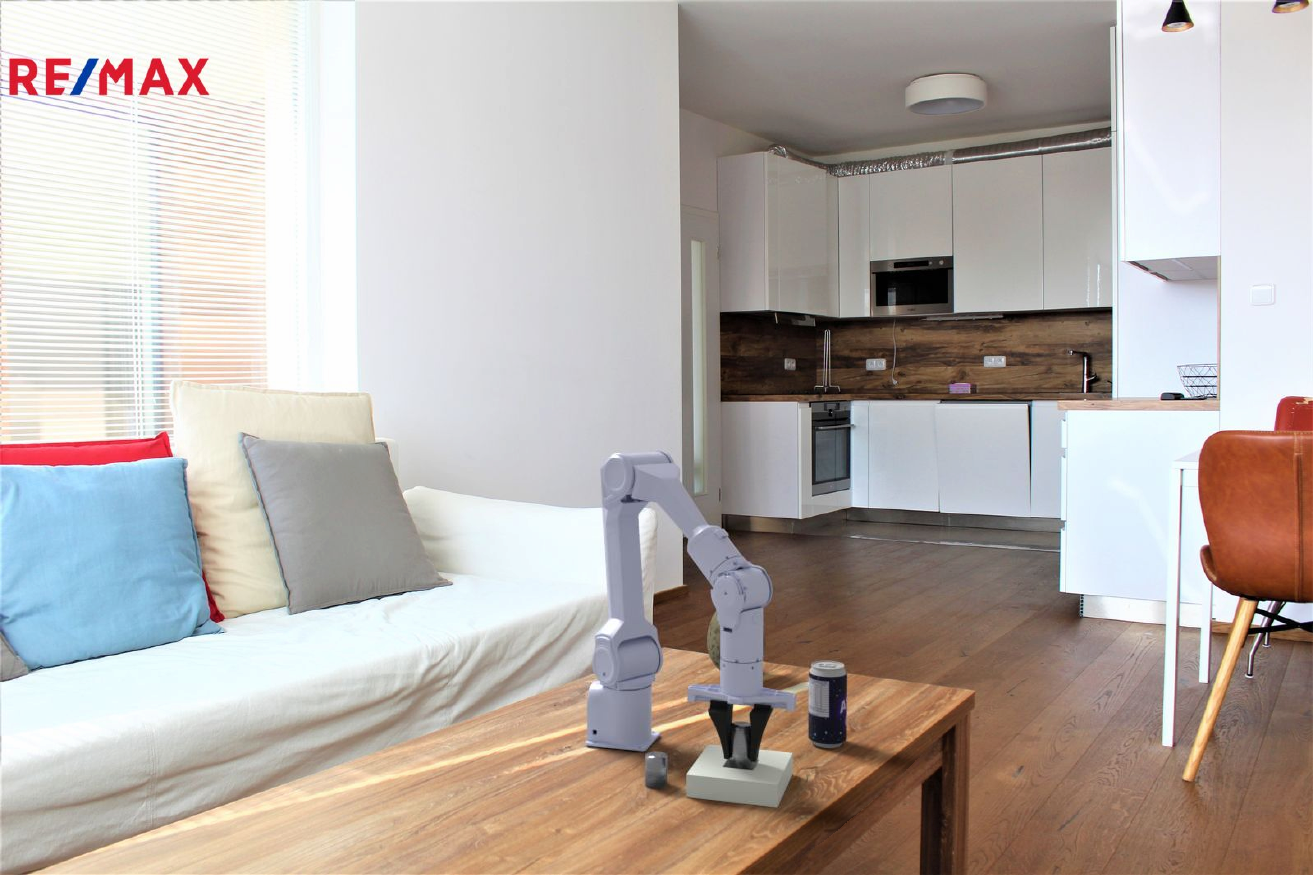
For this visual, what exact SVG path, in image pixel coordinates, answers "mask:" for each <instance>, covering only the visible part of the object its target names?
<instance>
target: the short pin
mask: <svg viewBox="0 0 1313 875" xmlns="http://www.w3.org/2000/svg"><path fill="white" fill-rule="evenodd" d="M644 757H645V758H644V759H645V760H644V761H645V762H644V764H645V765H644V768H645V769H644V777H645V778H644V780H645V781H644V785H645V788H649V789H652V790H661V789H665V788H666V787H667V786H668V754H667V753H665V752H663V751H649V752H647V753H646V754H644Z"/></svg>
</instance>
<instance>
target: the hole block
mask: <svg viewBox="0 0 1313 875" xmlns="http://www.w3.org/2000/svg"><path fill="white" fill-rule="evenodd" d="M793 764H794V757H793V752H788V751H787V752H786V751H778V750H770V749H760V748H759V755H758V759H757V761H756V762H752V770H745V769H735V768H730V758H729V759H724V755H723V750H722V745H721V744H719V745H717V744H707V745H706V747H705V748H704V749H703V751H702V753H700V755H699V756H698V758H697V759H696V761H695V762H693V764H692V766H691V767H690V769H689V770H688V771H687V773H686V777H685V778H686V780H685V781H686V783H685V786H686V787H685V789H686V791H685V793H686V794H685V795H686V798H693V799H701V800H710V801H711V800H712V801H718V802H726V803H727V802H728V803H734V804H742V805H744V804H745V805H754V806H761V807H768V808H769V807H770V808H779V804H780V803H781V800H782V798H783V796H784V794H785V791H786V789H787V787H788V785H789V783H790V781H791V778H792V776H793V774H794V773H793V770H794V769H793V768H794V767H793Z"/></svg>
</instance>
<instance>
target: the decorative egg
mask: <svg viewBox="0 0 1313 875" xmlns="http://www.w3.org/2000/svg"><path fill="white" fill-rule="evenodd" d="M706 636H707V637H706V638H707V639H706V646H707V650H708V656H709V658H710V660H711V662H712V663H713V665H714V666H715V667H716V668H717V670H719V671H720V625H719V621H717V610H715V612H714V613H713V615H712V618H711V620H710V623H709V626H708V631H707V635H706ZM765 651H766V635H765V629H764V628H763V656H764V655H765Z"/></svg>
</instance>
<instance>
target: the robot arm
mask: <svg viewBox="0 0 1313 875" xmlns="http://www.w3.org/2000/svg"><path fill="white" fill-rule="evenodd" d="M599 472H600V488H601V489H600V490H601V492H600V493H601V509H602V523H603V524H602V526H603V527H602V528H603V542H604V543H603V544H604V559H605V576H606V591H607V593H606V594H607V609H608V611H607V612H608V620H607V621H606V622H605V624H603V625H602V627H601V628H600V629H599V630H598V631H597V632H596V634H595V635H594V650H593V653H592V658H591V659H592V660H591V664H592V665H591V666H592V671H593V673H594V676H595V678H596V679H597V680H595V681H593V682H592V683H591V684H590V686H589V690H588V693H587V697H586V698H587V700H586V741H585V742H584V743H585V744H584V745H585V746H590V747H599V748H608V749H614V750H615V749H616V750H617V749H618V750H627V751H634V752H636V751H637V752H646V751H647V750H648V749H649V748H650V747H651V746H652V745H653V743H654V742H655V741H657V739H658V738H659V737H660V735H661V733H660V731H655V730H654V731H653V730H652V722H653V721H652V710H653V708H652V707H653V706H652V705H653V704H652V703H653V702H652V700H653V699H652V698H653V696H652V691H653V690H652V689H653V688H652V684H653V683H654V682H656V675H657V674H659V673H660V671H661V669H662V667H663V665H664V664H663V663H664V654H663V653H664V652H663V650H662V647H661V644H660V641H659V636H658V634H659V633H658V628H657V627H656V626H655V625H654V624H652V622H650V621H649V620H647V619H646V617H645V603H644V600H645V599H644V587H643V569H642V568H643V567H642V556H641V555H642V553H641V538H640V537H641V536H640V534H641V533H640V520H639V515H640V514H641V513H642V511H643V510H644V509H645V508H646V506H647V505H648V504H649V503H656V504H658V506H659V507H660V508H661V509H662V510H663V512H664V513H665V515H667V516H668V517H669V519H671V521H672V522H673V524H675V525H676V527H677V528H678V529H679V530H680V532H682V534H683V535H684V536H685V538H687V539H688V540H687V545H686V551H687V554H688V555H689V556H690V557H691V559H692V560H693V562H694V563H695V564H696V566H697V567H698V569H699V570H700V571H701V572H702V574H703V575H704V577H705V578H706V580H707V581H708V582H709V584H710V585H711V587H712V589H710V596H711V600H712V604H713V606H714V607H715V609H716V610H717V621H719V625H720V670H719V672H720V673H719V682H720V683H718V684H694V683H692V684H691V683H690V685H689V686H688V687H687V695H686V696H687V698H686V699H687V700H686V702H688V703H696V702H702V703H709V707H708V709H707V711H708V716H709V717H710V719H711V721H712V723H713V726H714V727H715V730H716V732H717V735H718V738H719V743H720V745H721V746H722V750H723V755H724V759H729V758H730V724H731V723H733V712H734V706H736V705H737V706H747V707H753V708H752V709H751V711H750V712H749V723H750V727H751V748H750V762H756V761H757V759H758V755H759V749H760V748H761V743H762V739H763V737H764V733H765V730H766V727H767V725H768V722H769V720H770V717H771V716H772V713H773V712H774V709H780V710H785V711H787V712H795V710H796V708H797V693H796V692H789V691H782V690H779V689H772V688H768V687H764V655H763V629H764V608H765V607H767V606H768V604H769V603H771V600H772V597H773V592H774V591H773V590H774V589H773V583H772V579H771V577H770V576H769V575H768V573H767V570H766V569H765V568H764V567H762V566H760V565H756V564H753V563H752V562H751V561H748V560H747V559H746V557H744V556H743V555H742V553H741V552H740V551H739V549H738V548H737V547H736V546H735V545H734V543H733V542H732V541H731V539H730V538H729V533H728V532H727V531H726V530H725V528H722V527H721V526H719V525H710V524H708V522H707V520H706V519H705V517H704V516H703V514H702V512H701V511H700V510H699V508H698V506H697V505H696V504H695V502H694V500H693V499H692V497H691V495H690V494H689V493H688V491H687V489H686V488H685V486H684V484H683V483H682V481H681V480H680V478H681V469H680V467H679V466H678V465H677V463H675V460H674V459H673V457H672V456H671V454H669V453H667V451H663V450H657V451H654V452H653V451H651V452H631V453H623V452H621V453H620V452H616V453H613V454H610V456H608V457H607V459H606V461H605V462H604V463H603V464H602V465H601V467H600V470H599ZM716 610H715V611H716Z"/></svg>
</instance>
